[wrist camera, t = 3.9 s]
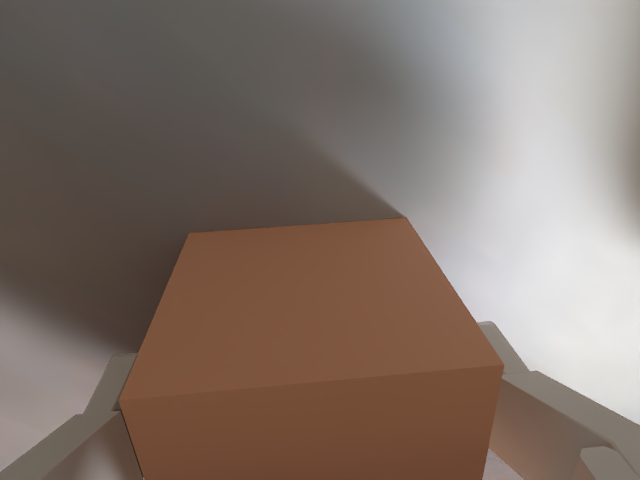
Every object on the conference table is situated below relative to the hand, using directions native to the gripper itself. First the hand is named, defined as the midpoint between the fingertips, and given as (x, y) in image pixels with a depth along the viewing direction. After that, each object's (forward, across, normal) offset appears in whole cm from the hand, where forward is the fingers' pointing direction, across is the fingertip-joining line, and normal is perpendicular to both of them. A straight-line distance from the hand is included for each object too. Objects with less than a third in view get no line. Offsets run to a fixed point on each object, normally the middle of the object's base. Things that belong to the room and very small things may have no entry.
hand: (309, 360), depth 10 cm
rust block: (+2, 0, 0) cm, 2 cm away
